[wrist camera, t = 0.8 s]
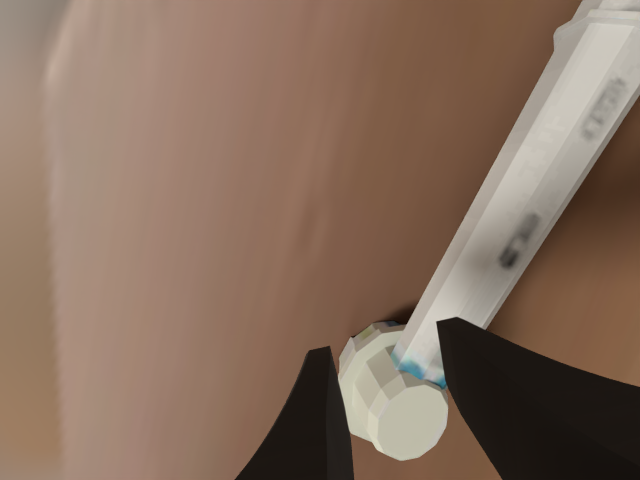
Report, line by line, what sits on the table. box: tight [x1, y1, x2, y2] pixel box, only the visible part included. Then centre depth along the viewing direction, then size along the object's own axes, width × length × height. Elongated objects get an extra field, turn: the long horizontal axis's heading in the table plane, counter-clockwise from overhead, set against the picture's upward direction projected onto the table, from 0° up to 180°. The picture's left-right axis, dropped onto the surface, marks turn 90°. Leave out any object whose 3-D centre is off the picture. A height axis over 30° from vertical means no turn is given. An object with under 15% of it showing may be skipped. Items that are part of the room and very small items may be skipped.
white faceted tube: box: [338, 0, 640, 461], centre depth 18 cm, size 5×7×25 cm
